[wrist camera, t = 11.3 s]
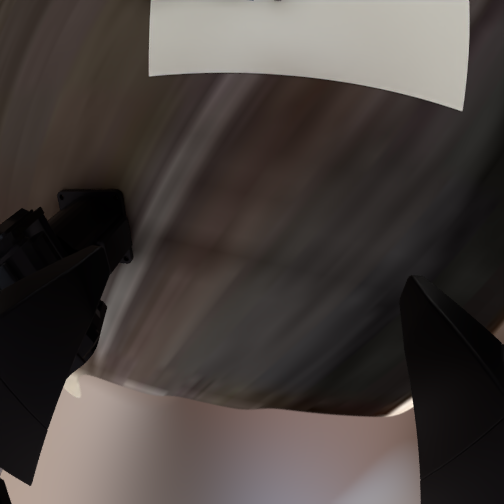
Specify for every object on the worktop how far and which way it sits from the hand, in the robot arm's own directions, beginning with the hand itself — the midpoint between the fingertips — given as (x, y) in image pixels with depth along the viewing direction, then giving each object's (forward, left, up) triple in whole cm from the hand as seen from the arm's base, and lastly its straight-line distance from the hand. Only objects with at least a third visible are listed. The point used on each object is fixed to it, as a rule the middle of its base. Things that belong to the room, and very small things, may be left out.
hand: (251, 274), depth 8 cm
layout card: (+2, +14, -13) cm, 19 cm away
